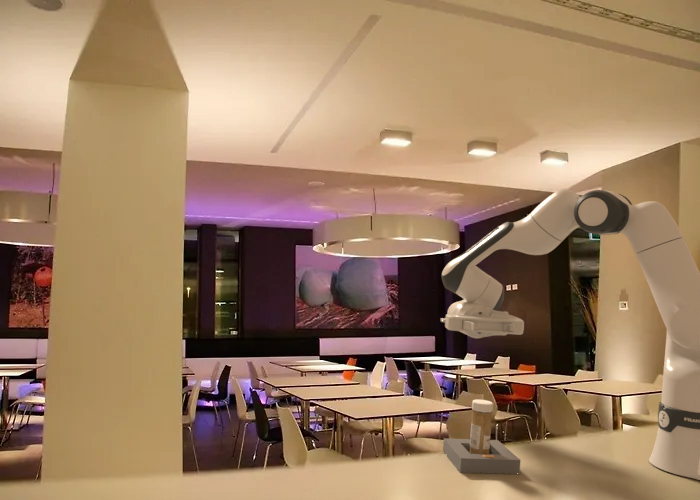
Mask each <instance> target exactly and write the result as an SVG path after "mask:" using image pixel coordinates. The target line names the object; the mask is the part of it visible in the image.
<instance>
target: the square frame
mask: <svg viewBox="0 0 700 500" xmlns="http://www.w3.org/2000/svg"><path fill="white" fill-rule="evenodd" d="M442 452H443V453H444V455H445V454H447V456H446V457H447V458H448V459H449V461H450V462H451V463H452V464H453V466H454V467H455V468H456V469H457V471H458V472H459V473H460V474H461V473H462V474H463V473H466V474H468V473H470V474H495V473H509V474H508V475H520V470H521V469H520V468H521V459H520V458H519V457H518V456H516V455H515V454H514V453H513V452H512V451H511V450H510V449H509V448H507V447H506V446H505V445H504V444H503V443H502V442H501V441H499V440H498V439H490V448H489V454H470V438H443V442H442ZM480 472H481V473H480ZM517 473H518V474H517Z"/></svg>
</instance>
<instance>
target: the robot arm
mask: <svg viewBox="0 0 700 500" xmlns="http://www.w3.org/2000/svg"><path fill="white" fill-rule="evenodd" d="M578 228H581V229H582V230H583V231H585V232H587V233H589V234H593V235H599V236H611V235H616V234H617V235H618V234H622V235H624V236H625V237H626V238H627V240H628V241H629V244H630V246H631V247H632V250H633V252H634V255H635V258H636V259H637V261H638V264H639V266H640V268H641V271H642V273H643V275H644V277H645V280H646V282H647V284H648V287H649V289H650V293H651V294H652V297H653V299H654V301H655V305H656V307H657V309H658V312H659V314H660V317H661V319H662V321H663V324H664V326H665V328H666V335H665V336H666V337H665V338H666V339H665V351H664V359H663V360H664V361H663V363H664V364H663V373H662V375H663V376H662V388H661V401H660V402H658V412H657V425H658V428H657V433H656V437H655V442H654V445H653V449H652V451H651V455H650V456H649V458H648V461H649V463H650V464H651V465H653V466H654V467H656V468H658V469H660V470H662V471H665V472H668V473H671V474H674V475H678V476H681V477H685V478H690V479H694V480H697V481H700V270H699V268H698V266H697V263H696V261H695V259H694V257H693V255H692V252H691V251H690V248H689V246H688V244H687V241H686V239H685V237H684V235H683V233H682V231H681V229H680V227H679V225H678V224H677V222H676V221H675V218H673V216H672V215H671V213H670V212H669V210H668V209H667V208H666V207H665V205H664V204H662V203H661V202H659V201H653V200H652V201H651V200H649V201H643V202H639V203H637V204H632V202H631V201H630V199H629V198H628V197H626V196H625V195H623V194H620V193H617V192H616V191H612V190H607V189H606V190H605V189H604V190H603V189H594V190H591V191H588V192H586V193H584V194H583V195H581V196H580V195H579V194H577V193H576V192H574V191H573V190H571V189H566V188H560V189H557V190H555V191H554V192H553V193H552V194H550V195H548V197H546V198H545V199H544V200H542V201H541V202H540V203H539V204H538V205H537V206H536V207H535V208H534V209H533V210H532V211H531V212H530V213H529V214H528V215H526V216H525V217H523V218H521V219H520V220H518V221H514V222H510V221H506V222H504V223H502V224H501V225H498V226H497V227H496V228H494V229H493V230H492V231H490V232H489V233H487V234H486V235H485V236H484V237H482V238H481V239H480V240H478V241H477V242H476V243H475V244H473V245H472V246H471V247H469V248H468V249H467V250H466V251H464V252H463V253H461V254H460V255H458V256H456V257H454V258H453V259H452V260H450V261H449V262H448V263H447V264H446V265H445V267H444V268H443V270H442V271H441V281H442V284H443V286H444V288H445V289H446V290H448V291H450V292H452V293H453V294H456V295H457V296H459V297H460V298H462V300H459V301H456V302H453V303H452V304H450V306H449V307H448V308H447V314H445V317H444V318H443V317H442V318H441V317H440V322H441V323H444V327H445V328H446V329H447V330H448V331H453V332H454V331H455V332H460V333H462V334H463V335H467V336H468V337H470V338H473V339H482V338H486V337H493V336H497V337H499V336H507V335H518V336H519V335H520V336H521V335H523V334H524V331H525V330H524V329H525V321H524V320H523V319H521V318H520V317H517V316H514V315H512V314H509V312H508V311H505V310H499V309H501V307H502V305H503V303H504V301H505V300H504V299H505V289H504V286H503V284H502V283H500V282H499V281H498V280H497V279H496V278H494V277H492V276H491V275H489V274H488V273H486V272H485V271H483V270H482V269H481V268H480V267H478V266H477V265H478V264H480V263H481V262H482V261H483V260H484V259H486V258H487V257H489V256H490V255H491V254H493V253H494V252H496V251H498V250H512V251H516V252H519V253H523V254H526V255H531V256H543V255H547V254H549V253H550V252H552V251H554V250H555V249H556V248H557V247H558V246H559V245H560V244H561V243H562V242H563V241H564V240H565V239H566V238H567V237H568V236H569V235H570V234H571V233H573V231H574V230H576V229H578Z"/></svg>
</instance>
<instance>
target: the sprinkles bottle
mask: <svg viewBox="0 0 700 500" xmlns="http://www.w3.org/2000/svg"><path fill="white" fill-rule="evenodd" d="M471 411H472V412H471V423H470V434H469V436H470V437H469V439H470V454H489V448H490V440H491V433H492V416H493V415H492V414H493V411H494V403H493V402H492V401H490V400H486V399H472V402H471Z"/></svg>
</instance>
